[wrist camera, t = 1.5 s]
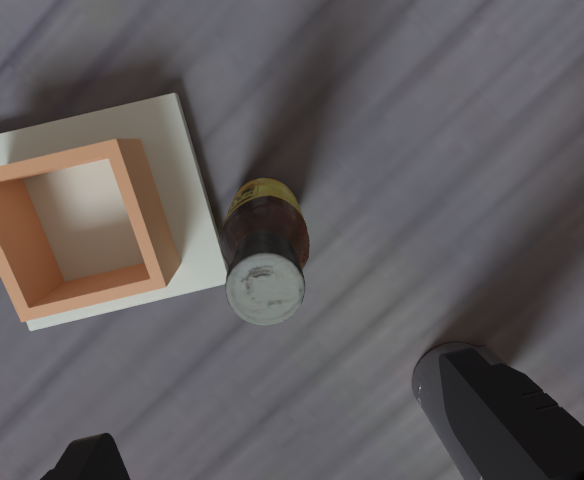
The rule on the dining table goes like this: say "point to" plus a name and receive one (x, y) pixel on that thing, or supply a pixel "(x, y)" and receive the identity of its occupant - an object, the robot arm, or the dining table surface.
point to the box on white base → (104, 213)
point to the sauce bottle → (264, 252)
